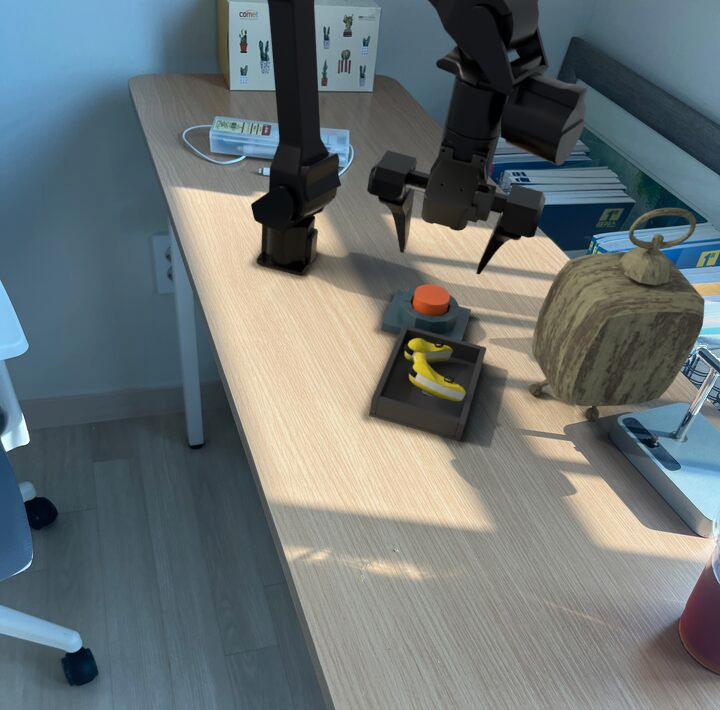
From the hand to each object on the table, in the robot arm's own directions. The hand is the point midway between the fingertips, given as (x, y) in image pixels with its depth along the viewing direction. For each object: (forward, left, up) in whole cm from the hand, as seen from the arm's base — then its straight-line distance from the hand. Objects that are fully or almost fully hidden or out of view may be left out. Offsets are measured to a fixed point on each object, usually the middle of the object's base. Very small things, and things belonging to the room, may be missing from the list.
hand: (440, 261), depth 88 cm
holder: (+3, -11, -10) cm, 15 cm away
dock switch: (0, +2, -10) cm, 10 cm away
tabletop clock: (+21, -6, -10) cm, 24 cm away
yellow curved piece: (+3, -11, -9) cm, 14 cm away
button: (0, +2, -7) cm, 7 cm away
